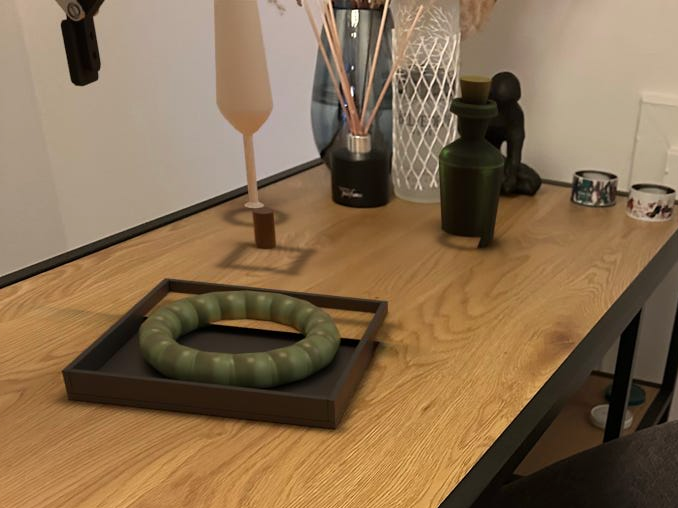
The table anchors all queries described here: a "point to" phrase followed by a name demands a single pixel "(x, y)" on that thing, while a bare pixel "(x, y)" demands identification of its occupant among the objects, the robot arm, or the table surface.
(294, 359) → the ring
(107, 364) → the tray
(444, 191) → the potion bottle
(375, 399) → the table surface
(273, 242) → the post
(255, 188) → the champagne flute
